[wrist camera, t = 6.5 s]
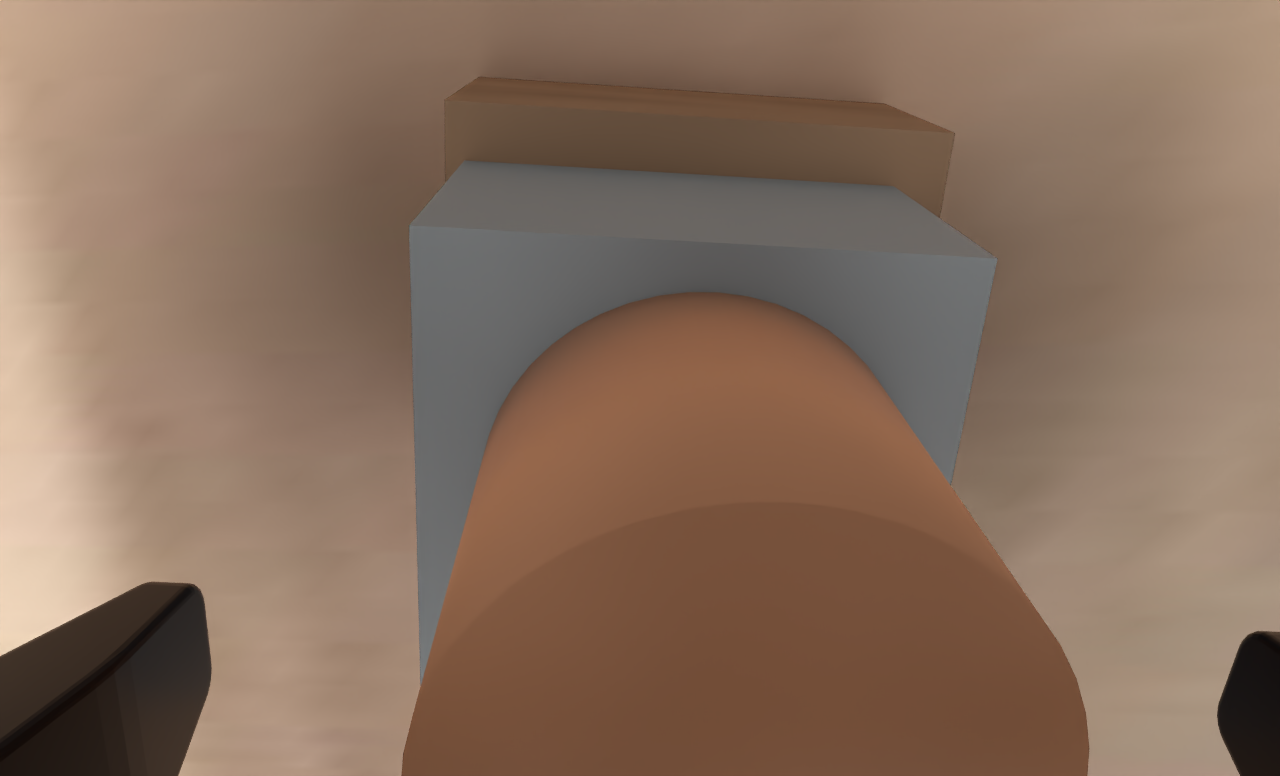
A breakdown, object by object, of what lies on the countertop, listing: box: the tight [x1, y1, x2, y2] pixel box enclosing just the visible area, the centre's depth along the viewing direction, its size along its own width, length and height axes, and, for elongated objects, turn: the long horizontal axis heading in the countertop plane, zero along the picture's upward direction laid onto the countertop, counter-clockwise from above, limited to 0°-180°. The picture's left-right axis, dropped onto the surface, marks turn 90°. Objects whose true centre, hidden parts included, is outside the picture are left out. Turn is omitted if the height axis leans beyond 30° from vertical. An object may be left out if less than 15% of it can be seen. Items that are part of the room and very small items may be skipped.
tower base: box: [445, 77, 955, 218], centre depth 17 cm, size 7×7×4 cm
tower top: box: [409, 160, 997, 684], centre depth 13 cm, size 6×6×4 cm
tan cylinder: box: [402, 292, 1089, 776], centre depth 9 cm, size 5×5×4 cm
